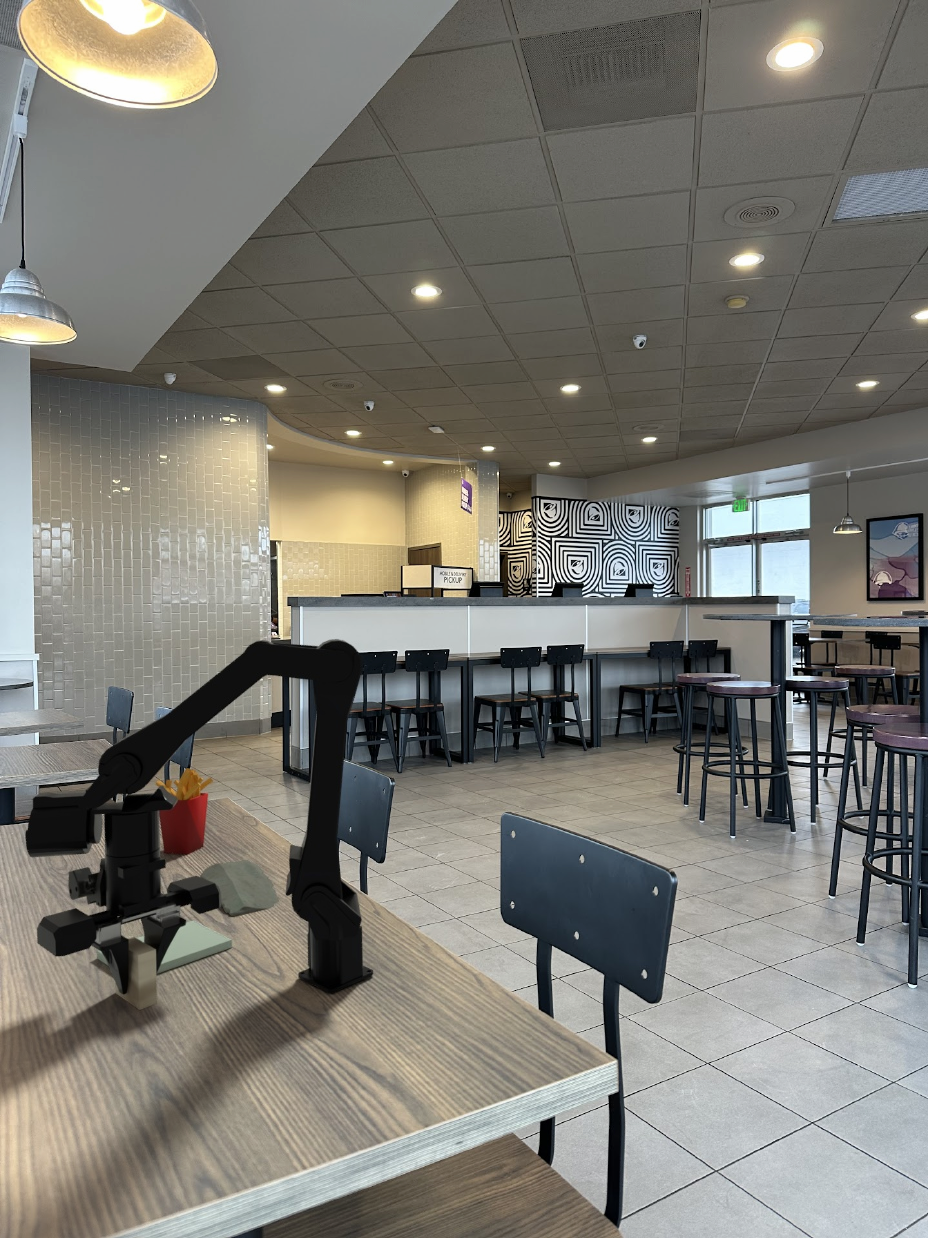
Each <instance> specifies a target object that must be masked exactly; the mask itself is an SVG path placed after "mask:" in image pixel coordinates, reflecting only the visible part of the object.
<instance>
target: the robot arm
mask: <svg viewBox="0 0 928 1238" xmlns="http://www.w3.org/2000/svg"><path fill="white" fill-rule="evenodd" d="M362 671H363V659H362V656H361V654H360V652H359V651H358V650H357V648H356V647H354V646H353V645H352V644H350V643H349V642H347V641H345V640H344V639H339V638H334V639H328V640H325V641H322V643H320V644H319V645H308V644H299V643H298V644H295V643H294V644H293V643H281V642H272V641H270V640H264V639H260V640H256V641H254V642H252V643H251V644H248V646H247V647H246V648H245V649H244V651H243V652H242V653H241V654H240V655H238V656H237V657H236V658H235V659H234V660H233V661H231V662H230V663H229V664H228V665H227V666H225V667H224V668H222V669H221V670H220V671H219V672H218V673H217V674H215V675H214V676H213V677H212V678H210V679H209V680H208V681H206V682H205V683H204V684H203V685H201V687H199V688H198V689H196V690H195V691H194V692H193V693H192V694H190V695H189V696H188V697H187V698H186V699H184V700H183V701H182V702H180V703H179V704H178V705H177V706H176V707H174V708H173V709H172V710H170V711H169V712H168V713H167V714H165V715H163V716H161V717H160V718H157V719H156V720H154V721H151V722H150V723H148V724H146V725H144V726H143V727H140V728H139V729H138V730H136V731H134V732H132V733H130V734H128V735H127V736H125V737H123V738H121V739H120V740H119V741H117V742H116V743H114V744H113V745H112V746H110V747H108V748H107V749H106V750H105V751H104V752H103V753H102V755H101V756H100V757H99V760H98V768H97V772H98V773H97V774H98V775H97V777H96V778H95V779H94V781H93V782H92V783H91V785H90V786H89V787H87V788H86V789H85V792H72V793H71V792H69V793H56V792H40V793H38V794H37V795H35V796H34V797H33V798H32V808H31V811H30V814H29V818H28V822H27V823H28V824H27V829H26V830H25V839H24V840H25V846H26V847H25V848H26V851H27V854H28V856H29V857H30V858H45V857H57V856H59V857H60V856H73V855H87V854H89V853H90V852H91V849H92V846H93V845H99V844H100V842H101V839H102V836H103V829H104V857H103V858H100V862H99V872H93V873H92V871H91V868H90V866H87V867H82V868H78V869H75V870H71V871H69V872H68V882H67V883H68V887H67V888H68V892H69V897H70V899H71V900H73V901H74V900H78V899H82V898H85V897H86V903H87V905H92V904H95V905H96V906H97V907H100V908H102V907H105V908H106V909H105V910H103V911H100V912H96V913H93V914H89V915H88V914H86V913H85V912H83V911H82V910H80V909H78V908H72V909H68V910H63V911H61V912H60V911H59V912H57V913H52V914H49V915H46V916H45V915H44V916H43V917H42V919H41V920H40V921H39V923H38V926H37V927H36V936H37V937H36V939H37V940H36V942H37V944H38V945H39V946H40V947H42V948H43V949H45V950H46V951H47V952H49V953H50V954H51V955H53V956H54V957H56V958H57V957H65V956H69V955H72V954H75V953H79V952H82V951H85V950H89V949H90V948H91V947H93V948H94V949H96V950H99V951H101V952H102V954H103V956H104V957H105V959H106V961H107V964H108V965H107V967H108V968H109V971H110V972H111V975H112V978H113V980H114V982H115V983H116V985H117V987H118V990H119V992H120V993H121V994H123V995H124V994H126V993H127V989H128V981H129V939H127V938H125V937H126V936H124V935H122V925H126V924H129V923H131V922H132V923H133V922H135V921H141V922H140V923H141V926H142V930H143V934H144V935H143V936H144V943H145V944H147V945H149V946H151V947H152V948H154V949H156V975H158V974H157V972H158V970H159V967H160V965H161V963H162V961H163V958H164V956H165V954H166V952H167V950H168V948H169V946H170V944H171V942H172V941H173V939H174V937H175V935H176V933H177V932H178V930H179V928H180V927H183V926H185V925H186V922H187V920H186V918H183V917H181V908H183V907H185V906H190V909H191V910H192V911H194V912H195V913H196V914H198V915H201V914H205V913H207V912H211V911H215V910H217V909H220V908H221V906H222V905H221V891H220V889H219V887H218V886H217V885H216V884H215V883H213V882H211V881H208V880H206V879H204V878H201V877H200V876H199V875H193V876H189V877H186V878H182V879H178V880H175V881H172V882H170V883H169V884H168V887H167V888H166V893H163V892H162V881H161V880H162V878H161V870H163V869H166V867H167V865H166V864H167V863H166V858H164V857H161V842H160V841H161V839H160V837H161V836H160V831H161V826H160V818H159V811H162V810H171V809H172V808H173V807H174V806H175V804H176V803H177V801H178V799H177V797H175V796H173V795H172V794H171V793H169V792H168V791H167V790H166V789H165V787H164V786H163V785H161V786H159V787H158V786H157V787H158V788H157V789H156V790H155V791H154V792H149V793H138V792H139V791H141V790H143V789H144V788H145V787H146V786H147V785H148V784H149V783H150V782H151V781H152V780H153V779H154V778H155V777H156V776H157V774H158V773H159V772H160V771H161V770H162V769H163V767H165V765H166V764H167V763H168V762H169V760H170V759H171V758H172V757H173V756H174V755H175V753H176V752H177V751H179V749H180V748H181V747H182V746H183V744H184V743H185V742H186V741H187V740H188V739H189V738H190V737H192V736H193V735H194V734H195V733H196V732H198V731H199V730H200V729H201V728H203V727H204V726H205V725H206V724H208V722H210V721H211V720H213V719H214V718H215V717H216V716H218V715H219V714H220V713H221V712H222V711H223V710H225V709H226V708H227V707H228V706H229V705H231V704H233V702H235V701H236V700H237V699H239V698H240V696H242V695H243V694H245V693H246V692H247V691H248V690H249V689H251V687H253V686H254V685H255V684H256V683H257V682H259V681H261V679H263V678H264V677H266V676H272V677H274V676H276V677H282V678H289V679H290V678H291V679H296V680H297V679H299V680H309V681H312V686H313V697H314V699H313V700H314V708H315V710H314V711H315V723H314V724H315V727H314V737H313V749H312V759H311V760H312V762H311V773H310V782H309V783H310V784H309V786H310V787H309V797H308V805H307V806H308V808H307V818H306V830H305V832H304V833H305V834H304V837H303V840H302V843H301V845H300V846H299V845H295V844H290V845H289V854H288V855H289V856H288V857H289V858H288V863H289V864H288V866H289V872H288V873H287V875H286V885H285V896H286V897H289V896H290V895H291V899H290V900H291V906H292V910H293V912H294V913H295V914H296V915H297V916H298V918H300V919H302V920H303V921H306V922H307V931H308V932H307V936H306V937H307V966H308V968H307V969H303V970H301V971H299V972H298V973H297V974H298V975H297V977H298V978H299V979H300V980H302V981H304V982H306V983H308V984H310V985H312V986H314V987H316V988H318V989H320V990H322V991H324V992H326V993H328V994H334V993H336V992H338V991H341V990H343V989H346V988H347V987H349V986H353V985H354V984H356V983H359V982H361V981H363V980H365V979H369V978H370V977H373V976H374V970H373V969H372V968H369V967H368V966H365V965H364V959H363V958H364V957H363V955H364V953H363V951H364V948H363V946H364V945H363V926H362V925H361V924H362V920H363V918H362V914H361V908H360V903H359V896H358V893H357V892H356V891H355V890H354V889H353V888H351V886H350V885H348V884H347V883H346V882H345V881H344V880H342V874H341V873H342V872H341V865H340V864H341V863H340V851H339V841H338V834H339V823H340V811H341V810H340V809H341V801H342V800H341V798H342V786H343V785H342V784H343V777H344V775H343V774H344V766H345V765H344V762H345V754H346V753H345V751H346V739H347V728H348V726H347V725H348V721H349V716H350V714H351V710H352V708H353V704H354V702H355V698H356V694H357V692H358V691H357V690H358V688H359V687H358V686H359V683H360V680H361V676H362V673H363V672H362ZM117 795H125V797H124V799H123V801H120V802H119V801H117V802H109V801H110V800H111V799H113V798H114V797H115V796H117ZM107 802H108V803H107ZM103 816H104V817H103ZM103 819H104V820H103ZM103 821H104V822H103ZM103 825H104V828H103ZM115 983H114V984H115Z"/></svg>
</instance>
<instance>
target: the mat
mask: <svg viewBox="0 0 928 1238" xmlns="http://www.w3.org/2000/svg"><path fill="white" fill-rule="evenodd" d="M136 938H137V939H139V940H140V941H142V942H144V935H142V936H139V937H136ZM231 948H233V939H232V938H229V937H227V936H225V935H224V934H222V933H219V932H218V931H215V930H214V929H212V928H209V927H207V926H205V925H203V924H201V923H200V922H198V921H196V920H190V921H186V925H185V926H183V927H180V928H179V930H178V932H177V933H176V935H175V937H174V939H173V941H172V942H171V944H170V946H169V948H168V950H167V952H166V954H165V956H164V958H163V961H162V963H161V965H160V967H159V970H158V972H157V974H156V975H158V974H160V973H164V972H166V971H170V970H171V969H172V970H173V969H175V968H177V967H180V966H183V965H185V964H186V965H187V964H189V963H192V962H195V961H198V960H201V959H203V958H205V957H208V956H211V955H214V954H217V953H221V952H223V951H226V950H229V949H231ZM96 958H97V960H99V961H100V962H101V963H103V964H105V965H106V966H108V964H107V961H106V959H105V957H104V956H103V954H102V952H101V951H99V950H98V949H96Z"/></svg>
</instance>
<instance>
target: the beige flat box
mask: <svg viewBox="0 0 928 1238" xmlns="http://www.w3.org/2000/svg"><path fill="white" fill-rule="evenodd" d="M124 937H125V938H127V939H129V981H128V989H127V993H126V994H124V995H123V994H121V993H120V992H119V990H118V987H117V985H116V983H114V984H115V986H114V988H115V993H114V994H116V995H118V996H119V997H120V998H122V999H123V1000H125V1001H126V1002H127V1003H129V1004H131V1006H133V1007H134V1008H136V1009H137V1010H139V1011H141V1010H142V1009H146V1008H148V1007H152V1006H154V1005H156V1004H158V994H157V993H158V992H157V991H158V989H157V987H158V985H157V984H158V983H157V982H158V981H157V980H158V979H157V974H156V949H154V948H152V947H151V946H149V945H147V944H145V943H144V942H142V941H140V940H139V939H137V938H138V937H135V936H133V935H129V936H124Z"/></svg>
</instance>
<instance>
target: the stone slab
mask: <svg viewBox="0 0 928 1238" xmlns="http://www.w3.org/2000/svg"><path fill="white" fill-rule="evenodd" d="M199 877H201V878H204V879H206V880H208V881H211V882H213V883H215V884H216V885H217V886H218V887H219V889H220V891H221V906H222V907H223V911H224V912H225V913H226V914H229V915H230V916H231V917H234V918H235V917H238V916H243V915H244V916H245V915H247V914H248V915H249V914H252V913H257V912H259V911H265V910H269V909H271V908H273V907H274V906H275V904H277V903H279V901H280V898H279V896H278V894H277V891H276V889H275V888H274V885H275V883H273V882H272V880H271V879H270V878H269V876H268V875H266V874H265V872H264V870H263V868H261V866H260V865H259V864H258V863H255V862H252V861H250V860H249V859H248V860H237V861H236V860H235V861H228V862H224V863H223V862H219V863H218V862H217V863H214V864H212V865H210V866H207V867H206V868H205V869H204V870H203V871H202V873H201V875H200V876H199Z"/></svg>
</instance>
